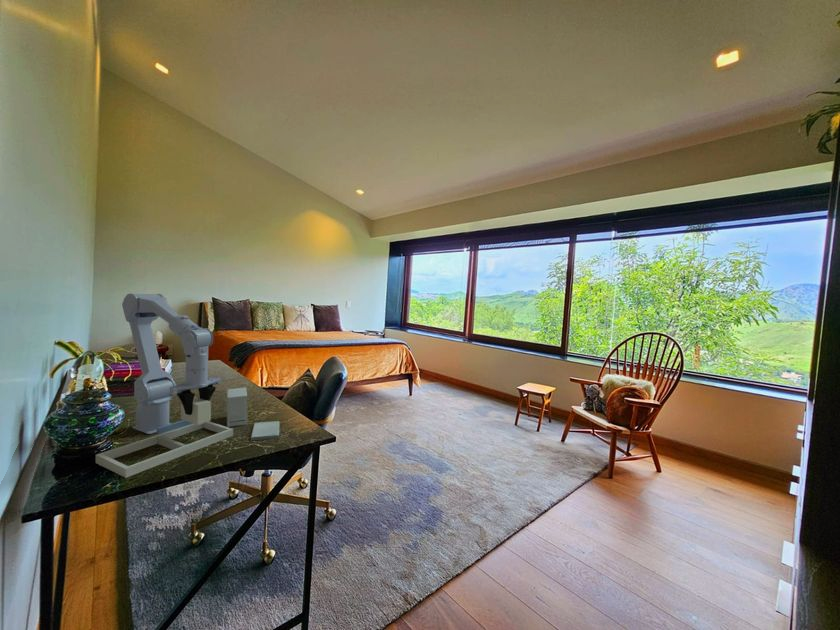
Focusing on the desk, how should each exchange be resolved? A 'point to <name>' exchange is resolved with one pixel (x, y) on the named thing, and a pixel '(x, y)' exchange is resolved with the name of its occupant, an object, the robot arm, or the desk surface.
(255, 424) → the hard drive
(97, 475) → the desk surface
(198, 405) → the cream rectangular block
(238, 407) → the skincare box
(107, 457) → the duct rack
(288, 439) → the desk surface
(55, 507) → the desk surface
